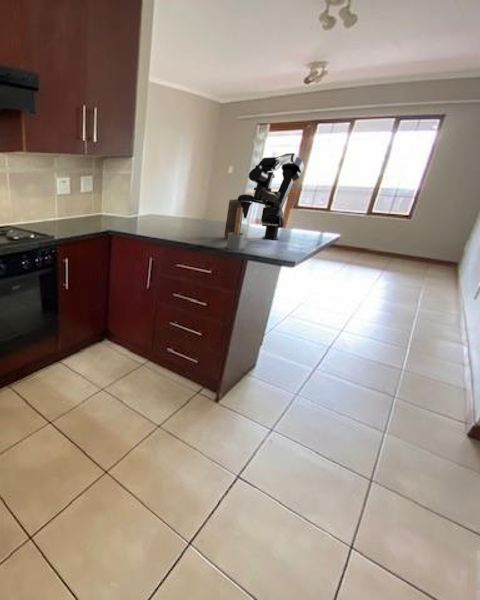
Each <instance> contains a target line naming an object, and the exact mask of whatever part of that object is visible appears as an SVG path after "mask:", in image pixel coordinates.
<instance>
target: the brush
mask: <svg viewBox="0 0 480 600" xmlns="http://www.w3.org/2000/svg"><path fill="white" fill-rule="evenodd" d="M242 209H243V208H238V209H237V217H236V224H235V231H234V235H239V230H240V231H241V229H240V223H241V224H242V221H241V216H242V217H243V215H242Z"/></svg>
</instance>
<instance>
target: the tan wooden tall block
mask: <svg viewBox="0 0 480 600" xmlns="http://www.w3.org/2000/svg"><path fill="white" fill-rule="evenodd" d="M237 200H238V198H236V199H235V198H234V199H229V201H228V208H227V213H226V221H225V228H224V233H223V235H224V237H225V238H226V239H228V233H232V232H234V231H235V224H236V217H237V209H238V208H242V206H241V204H240V203H239V202H240V201H237ZM243 216H244V215H243V210H242V216H241V223H240V230H239V233H241V229H242V228H241V227H242V221H243V220H242V219H243Z"/></svg>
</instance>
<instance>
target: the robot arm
mask: <svg viewBox="0 0 480 600" xmlns="http://www.w3.org/2000/svg"><path fill="white" fill-rule="evenodd" d="M280 168H281V170H282V172H281V173H282V178H283V179H282V181H281V184H280V186H279V187H278V191H274V192H272V188H271V186H272V183H273V179H274V178H275V177H276V176H275V174H274V171H275V172H276V171H277V170H279V169H280ZM304 170H305V164H304V160H303V159H301V158H299V157H298V156H297V153H294V152H292V153H290V152H289V153H284V154H282V155H279V156H272V157H271V156H270V157H263V158H262V159H261V160H260V161H259V162H258V164H257V165H255V166H254V168H252V169H251V170H250V172H249V173H248V179H249V180H250V181H251V182H254V183H256V186H255V187H253V191H254V194H253V195H252V194H248V193H247V194H246V193H244V194H239V195H238V197H237V199H238V200H237V201H240V202H239V203H240V204H241V206H242V208H243V209H242V210H243V215H242V216H243V218H244V219H247V217H248V214H249V210H250V207H251V206H252V204H253V203H255V204H259V205H264V206H263V207H262V213H261V219H260V222H261V225H262V227H265V232H264V235H263V237H262V239H263V240H274V241H278V240H279V236H278V235H279V231H280V230H279V229H281V228H282V229H283V228H284V226H285V219H284V212H283V208H284V205H285V203H286V201H287V198H288V196H289V194H290V192H291V189H292V187H293V184H294V183H295V181H297V180H298V179H299V178H301V175H302V173H303V172H304Z"/></svg>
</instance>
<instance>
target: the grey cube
mask: <svg viewBox="0 0 480 600" xmlns="http://www.w3.org/2000/svg"><path fill="white" fill-rule="evenodd" d="M245 235H246V234H245V233H243V232H240V233H239V235H234V232H232V233H228V238H227V241H226V249H229V250H234V251H235V250H243V249H244V242H245Z"/></svg>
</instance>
